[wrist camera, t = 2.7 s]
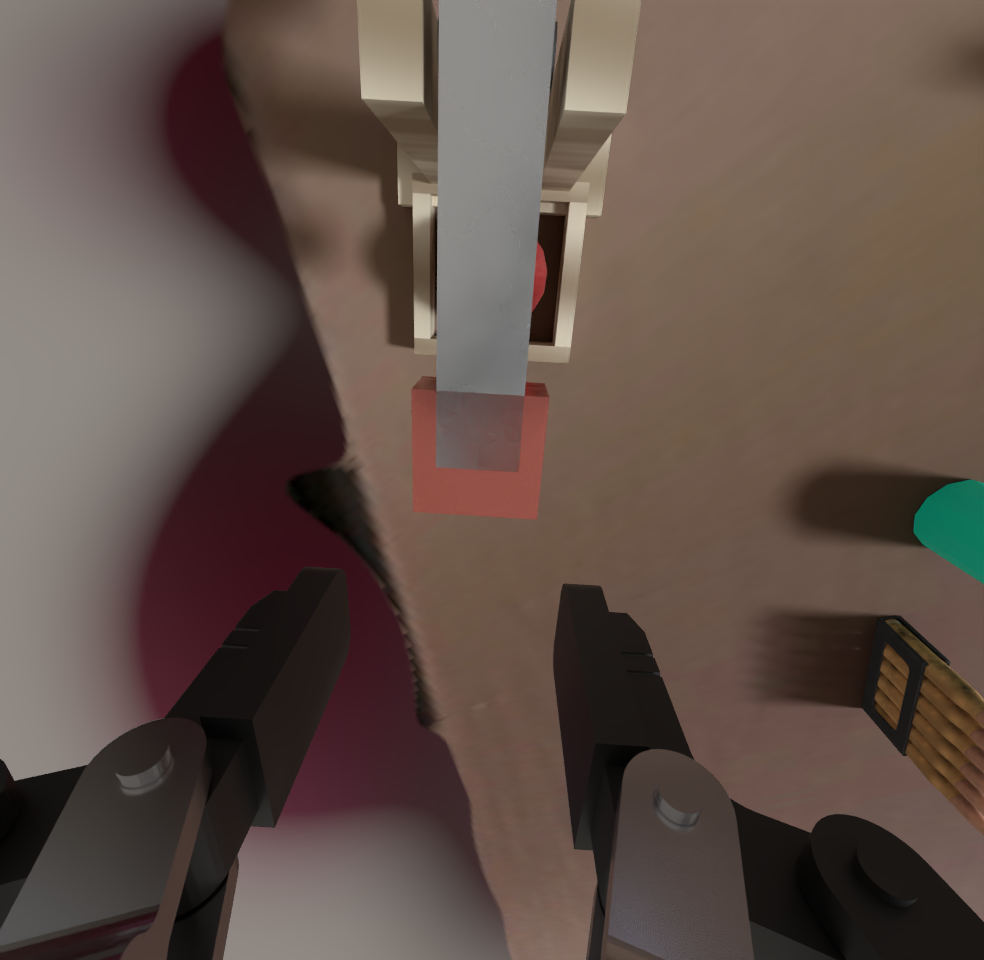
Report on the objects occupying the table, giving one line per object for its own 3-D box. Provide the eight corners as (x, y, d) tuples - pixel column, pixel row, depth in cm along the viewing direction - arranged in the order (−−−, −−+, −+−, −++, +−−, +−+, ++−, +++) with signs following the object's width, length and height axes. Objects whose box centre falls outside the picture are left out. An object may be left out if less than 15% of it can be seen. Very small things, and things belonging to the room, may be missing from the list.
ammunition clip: (881, 705, 44) (1006, 848, 33) (860, 707, 44) (977, 850, 33) (899, 614, 40) (1048, 742, 29) (876, 617, 40) (1015, 745, 29)
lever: (435, -638, 12) (388, -1246, 7) (633, -628, 12) (718, -1233, 7) (432, 464, 24) (413, 511, 19) (531, 470, 24) (536, 519, 19)
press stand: (400, 106, 27) (272, -95, 12) (610, 118, 27) (732, -71, 12) (405, 348, 32) (319, 408, 18) (579, 359, 32) (640, 428, 18)
